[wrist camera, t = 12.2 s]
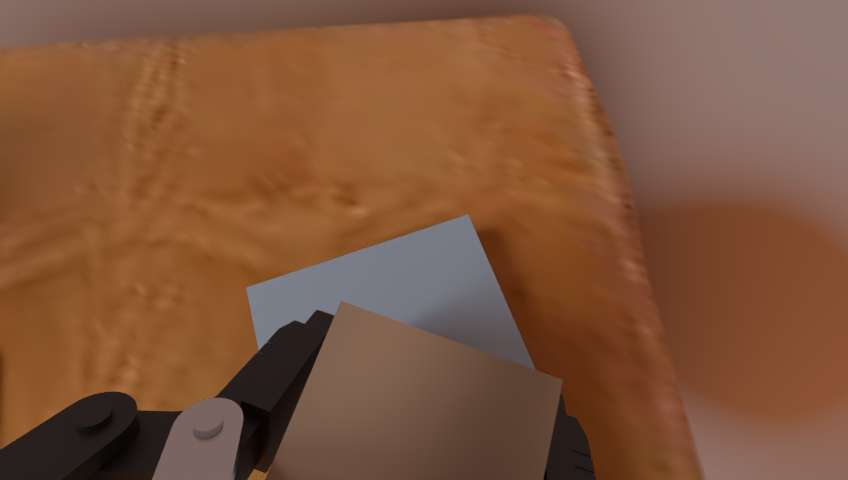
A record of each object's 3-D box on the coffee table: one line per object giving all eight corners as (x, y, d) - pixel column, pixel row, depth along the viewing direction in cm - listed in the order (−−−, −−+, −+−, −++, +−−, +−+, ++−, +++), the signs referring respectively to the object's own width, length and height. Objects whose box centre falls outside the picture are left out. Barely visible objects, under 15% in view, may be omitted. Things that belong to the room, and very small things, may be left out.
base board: (269, 298, 21) (245, 287, 18) (461, 233, 22) (468, 214, 20) (344, 638, 16) (329, 696, 13) (584, 525, 18) (617, 555, 15)
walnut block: (340, 448, 16) (228, 567, 6) (381, 337, 17) (341, 300, 8) (449, 492, 15) (501, 688, 6) (481, 373, 17) (563, 379, 8)
